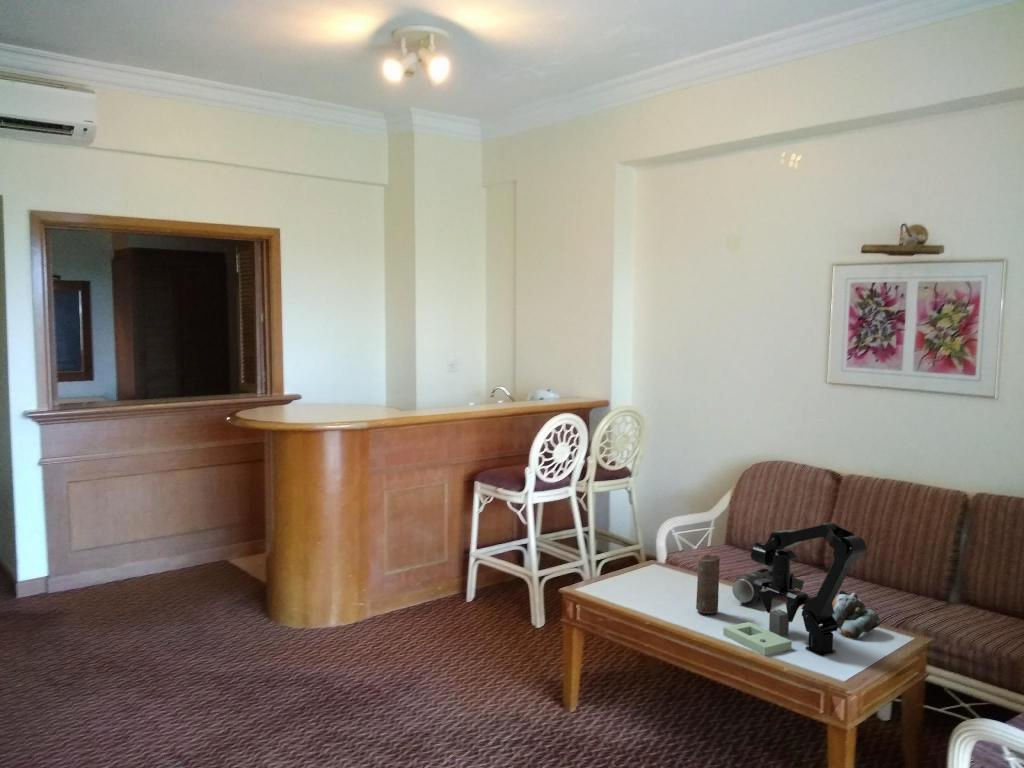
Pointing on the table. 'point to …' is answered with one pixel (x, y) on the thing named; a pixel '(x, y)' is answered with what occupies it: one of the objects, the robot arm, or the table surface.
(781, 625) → the block
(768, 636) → the socket box
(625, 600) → the table surface
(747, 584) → the muzzle brake
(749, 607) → the table surface
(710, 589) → the brown cylinder
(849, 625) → the lucky cat figurine
